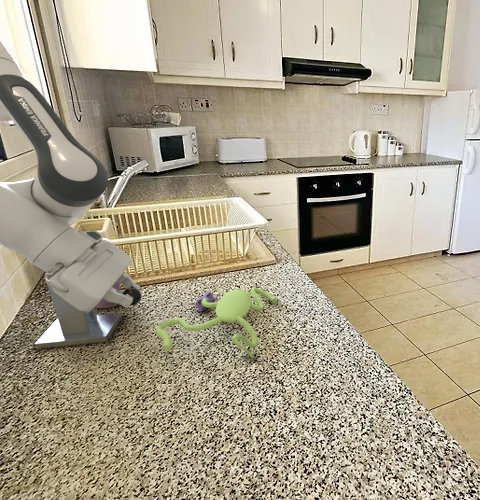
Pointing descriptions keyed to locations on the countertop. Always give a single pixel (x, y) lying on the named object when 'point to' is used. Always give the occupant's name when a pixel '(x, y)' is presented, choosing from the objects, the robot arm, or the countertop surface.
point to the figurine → (223, 315)
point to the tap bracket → (76, 325)
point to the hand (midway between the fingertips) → (134, 297)
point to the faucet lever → (132, 295)
